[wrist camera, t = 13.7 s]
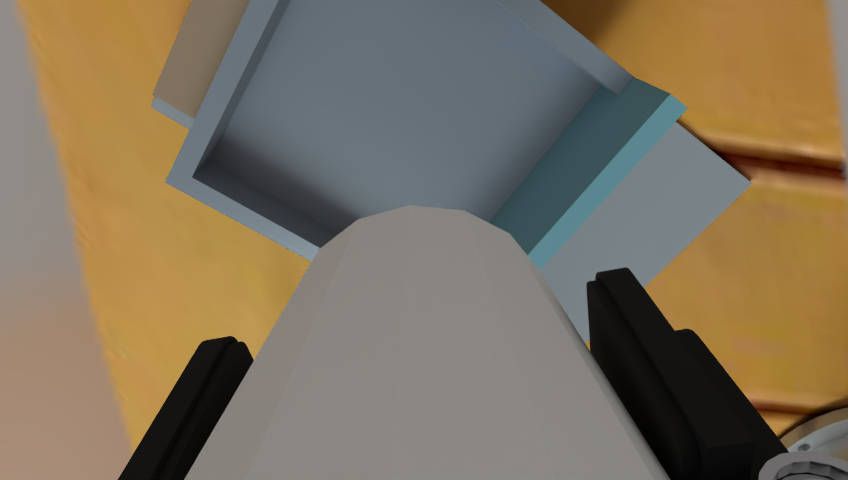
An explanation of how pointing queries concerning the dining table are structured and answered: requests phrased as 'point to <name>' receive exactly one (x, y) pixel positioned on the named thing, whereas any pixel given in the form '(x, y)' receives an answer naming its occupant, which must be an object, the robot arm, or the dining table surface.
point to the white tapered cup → (425, 369)
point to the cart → (415, 119)
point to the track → (597, 236)
